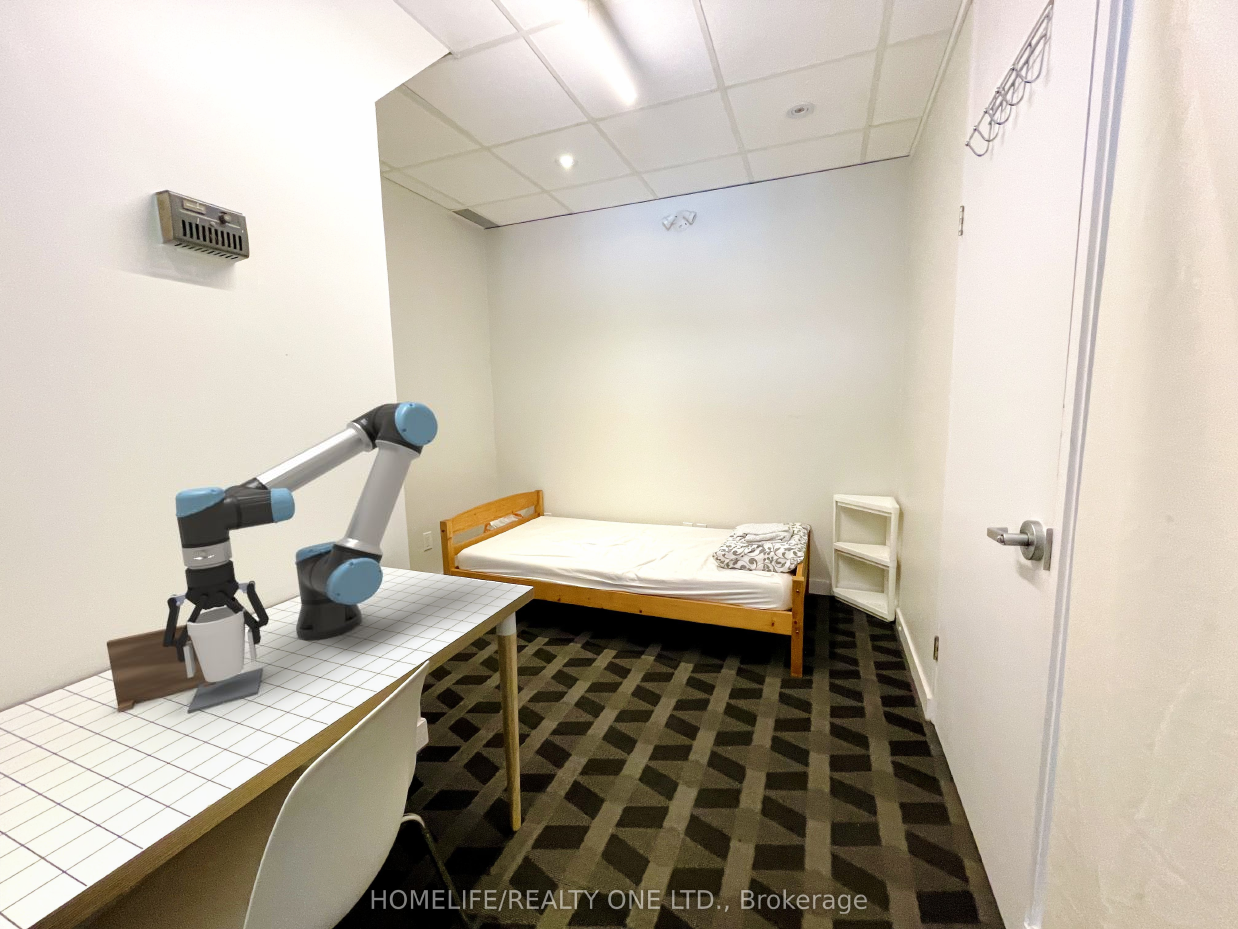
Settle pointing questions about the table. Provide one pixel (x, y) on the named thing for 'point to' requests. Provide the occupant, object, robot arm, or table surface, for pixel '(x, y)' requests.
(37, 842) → the table surface
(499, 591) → the table surface
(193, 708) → the mat
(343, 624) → the robot arm
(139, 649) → the screen
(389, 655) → the table surface
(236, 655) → the foam cup
